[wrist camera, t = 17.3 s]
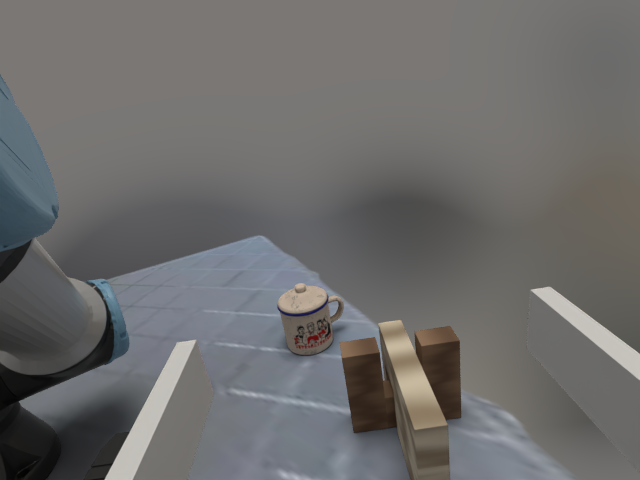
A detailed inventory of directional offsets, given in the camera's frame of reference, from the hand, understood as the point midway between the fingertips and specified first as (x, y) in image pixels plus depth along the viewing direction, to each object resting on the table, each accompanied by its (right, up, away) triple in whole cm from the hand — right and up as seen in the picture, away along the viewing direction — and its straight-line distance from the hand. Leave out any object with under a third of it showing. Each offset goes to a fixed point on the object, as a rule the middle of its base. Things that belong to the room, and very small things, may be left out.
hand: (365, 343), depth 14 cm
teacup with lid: (-2, -14, +53) cm, 55 cm away
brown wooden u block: (+9, -19, +34) cm, 40 cm away
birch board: (+10, -21, +30) cm, 38 cm away
